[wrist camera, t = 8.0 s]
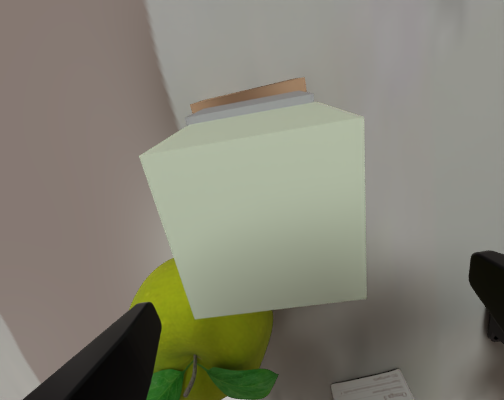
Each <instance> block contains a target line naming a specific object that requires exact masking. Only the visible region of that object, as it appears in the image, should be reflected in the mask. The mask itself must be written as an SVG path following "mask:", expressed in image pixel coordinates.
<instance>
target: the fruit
mask: <svg viewBox="0 0 504 400" xmlns="http://www.w3.org/2000/svg"><path fill="white" fill-rule="evenodd" d="M143 302H151V303H153V305H154V307H155V309H156V311H157V314H158V316H159V318H160V320H161V324H162V329H161V335H160V340H159V345H158V351H157V356H156V361H155V366H154V371H153V376H152V381H151V385H150V388H149V392H148V396H147V399H146V400H221V399H223V398H225V397H227V396H228V397H231V398H235V399H246V400H247V399H248V400H254V399H262V398H264V397H266V396H267V395H268V394H269V393H270V391H271V389H272V387H273V385H274V383H275V381H276V379H277V377H278V375H279V374H276V373H274V372H272V371H270V370H268V369H259V367H260V365H261V362H262V360H263V357H264V354H265V352H266V349H267V346H268V342H269V339H270V336H271V332H272V327H273V312H272V310H269V311H260V312H252V313H244V314H235V315H227V316H218V317H210V318H201V319H194V316H193V313H192V310H191V307H190V304H189V301H188V298H187V295H186V292H185V289H184V286H183V283H182V280H181V278H180V275H179V272H178V269H177V266H176V263H175V260H174V258H172V259H170V260H168V261H166V262H165V263H163V264H162V265H160V266H159V267H158V268H156V269H155V270H154V271H153V272H152V273H151V274H150V275H149V276H148V277H147V278H146V280H145V281H144V282H143V284H142V285H141V287H140V288H139V290H138V292H137V293H136V295H135V297H134V299H133V302H132V304H131V306H130V309H131V308H132V307H133V306H135V305H136V304H138V303H143ZM130 309H129V310H130Z"/></svg>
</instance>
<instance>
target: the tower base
mask: <svg viewBox="0 0 504 400" xmlns="http://www.w3.org/2000/svg"><path fill="white" fill-rule="evenodd" d="M294 91H303V92H307V91H306V84H305V77H304V78H295V79H291V80H286V81H282V82H278V83H274V84H270V85H265V86H261V87H257V88H253V89H249V90H245V91H240V92H236V93H232V94H228V95H224V96H219V97H215V98H211V99H207V100H203V101H200V102H197V103H194V104H190V106H191V110H192V113H193V114H194V113H196V112H198V111H200V110H202V109H205V108H210V107H215V106H220V105H225V104H231V103H236V102H241V101H246V100H252V99H257V98H262V97H267V96H273V95H278V94H283V93H288V92H294Z"/></svg>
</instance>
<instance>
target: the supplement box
mask: <svg viewBox="0 0 504 400" xmlns="http://www.w3.org/2000/svg"><path fill="white" fill-rule="evenodd" d="M331 390H332V395H333V399H334V400H415V399H414V397H413V395H412V393H411V391H410V388H409V386H408V384H407V382H406V380H405V378H404V376H403V374H402V372H401V370H400V369H396V370H394V371H390V372H387V373H382V374H378V375H374V376H370V377H365V378H360V379H356V380H351V381H347V382H342V383H335V384H332V385H331Z"/></svg>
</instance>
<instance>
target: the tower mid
mask: <svg viewBox="0 0 504 400" xmlns="http://www.w3.org/2000/svg"><path fill="white" fill-rule="evenodd" d="M312 102H314V94H313V93H308V92H303V91H294V92H288V93H283V94H278V95H273V96H267V97H262V98H257V99H252V100H246V101H241V102H236V103H231V104H225V105H220V106H215V107H210V108H205V109H202V110H200V111H198V112H196V113H194V114H192V115H190V116H188V117H186V118H185V120H186V124H187V126H188V125H190V124H196V123H201V122H207V121H212V120H218V119H224V118H229V117H235V116H240V115H246V114H251V113H257V112H262V111H268V110H273V109H279V108H285V107H290V106H296V105H301V104H307V103H312Z"/></svg>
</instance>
